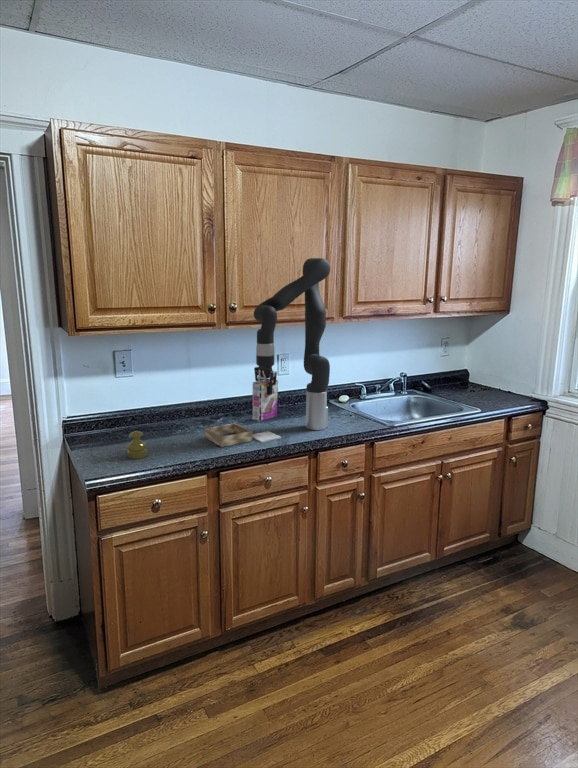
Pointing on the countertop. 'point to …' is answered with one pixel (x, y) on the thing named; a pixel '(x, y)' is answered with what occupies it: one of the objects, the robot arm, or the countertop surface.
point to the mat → (265, 436)
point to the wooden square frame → (239, 437)
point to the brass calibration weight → (136, 446)
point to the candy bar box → (264, 401)
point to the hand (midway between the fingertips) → (265, 393)
